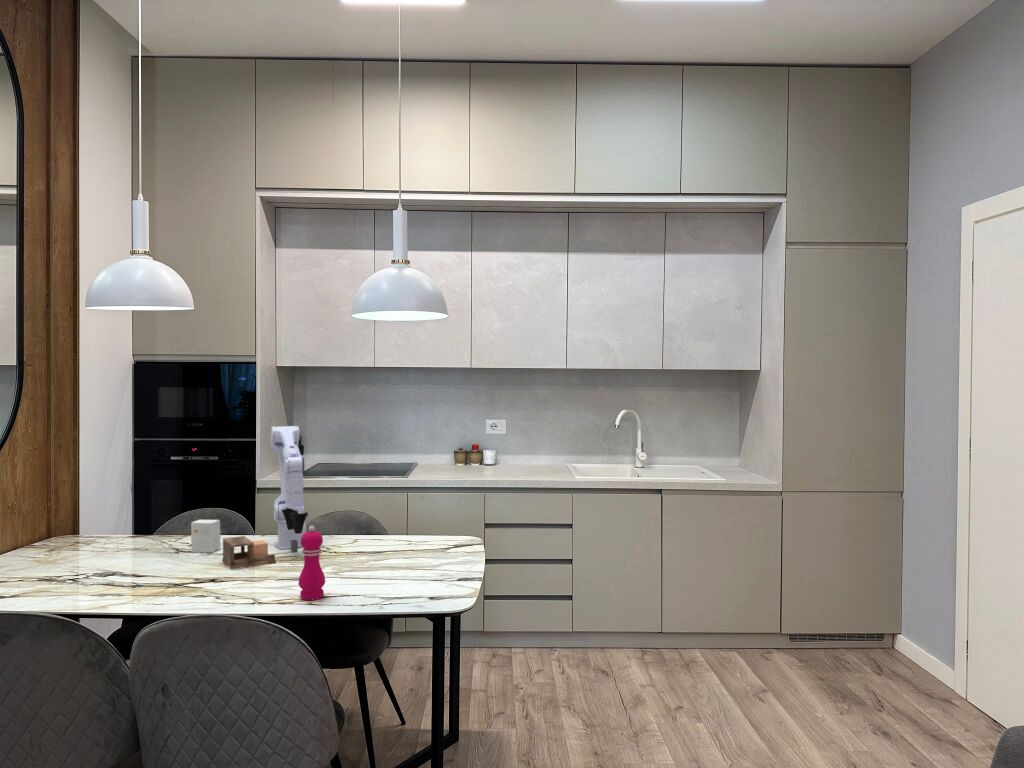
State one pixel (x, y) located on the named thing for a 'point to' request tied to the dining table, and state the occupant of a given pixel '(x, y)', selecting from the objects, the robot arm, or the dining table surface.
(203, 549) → the small box
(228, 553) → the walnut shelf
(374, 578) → the dining table surface
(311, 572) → the pepper mill
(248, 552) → the tan piece
